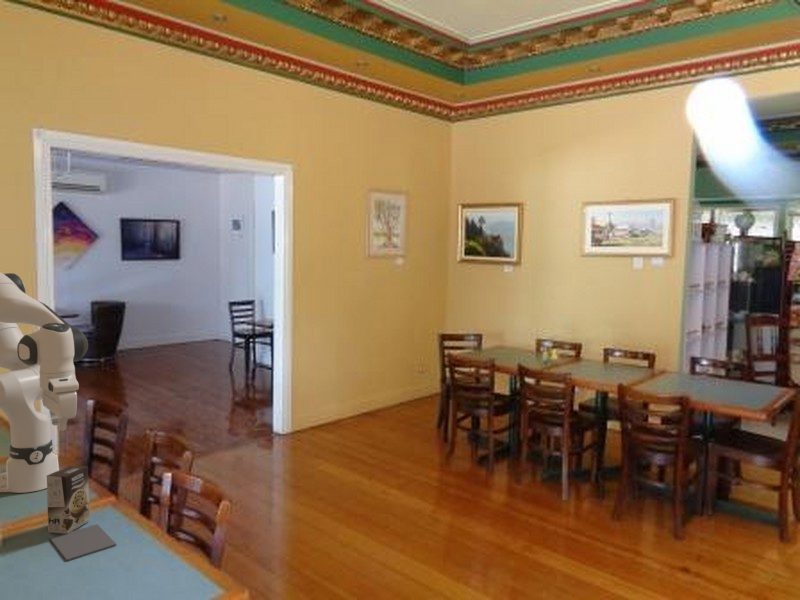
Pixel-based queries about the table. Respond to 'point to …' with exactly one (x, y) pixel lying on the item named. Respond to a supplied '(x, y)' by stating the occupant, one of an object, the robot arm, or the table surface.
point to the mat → (82, 542)
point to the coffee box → (68, 499)
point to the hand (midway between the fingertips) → (58, 427)
